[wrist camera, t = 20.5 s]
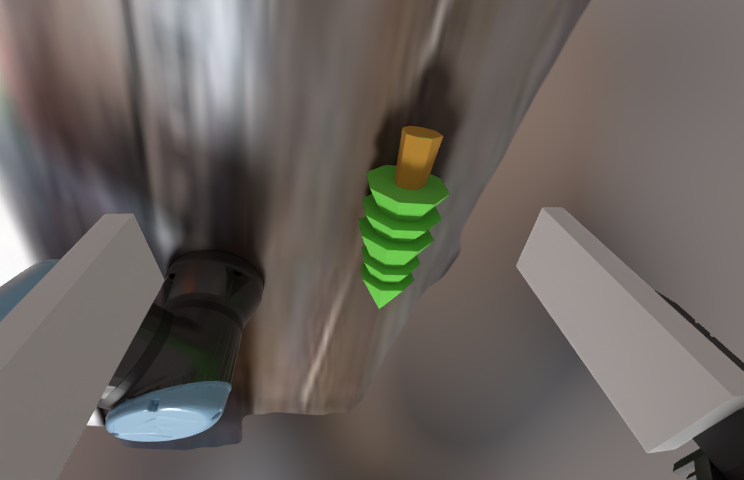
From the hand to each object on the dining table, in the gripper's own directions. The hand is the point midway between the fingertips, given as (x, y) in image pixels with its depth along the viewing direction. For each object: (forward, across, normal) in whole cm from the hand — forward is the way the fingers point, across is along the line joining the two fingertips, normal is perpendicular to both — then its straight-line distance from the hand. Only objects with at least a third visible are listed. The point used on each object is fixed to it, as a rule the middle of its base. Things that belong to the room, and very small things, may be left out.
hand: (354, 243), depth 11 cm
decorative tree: (+33, +8, -20) cm, 40 cm away
